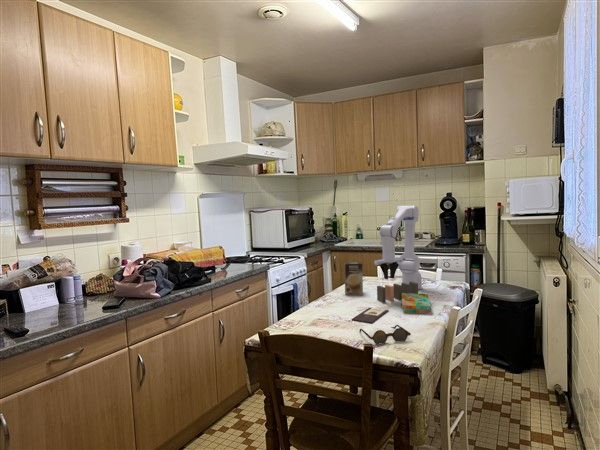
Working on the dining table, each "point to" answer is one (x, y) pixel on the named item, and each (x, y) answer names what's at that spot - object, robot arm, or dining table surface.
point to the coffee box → (353, 278)
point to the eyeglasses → (397, 335)
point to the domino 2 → (389, 292)
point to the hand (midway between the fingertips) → (389, 278)
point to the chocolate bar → (370, 315)
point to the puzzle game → (415, 303)
